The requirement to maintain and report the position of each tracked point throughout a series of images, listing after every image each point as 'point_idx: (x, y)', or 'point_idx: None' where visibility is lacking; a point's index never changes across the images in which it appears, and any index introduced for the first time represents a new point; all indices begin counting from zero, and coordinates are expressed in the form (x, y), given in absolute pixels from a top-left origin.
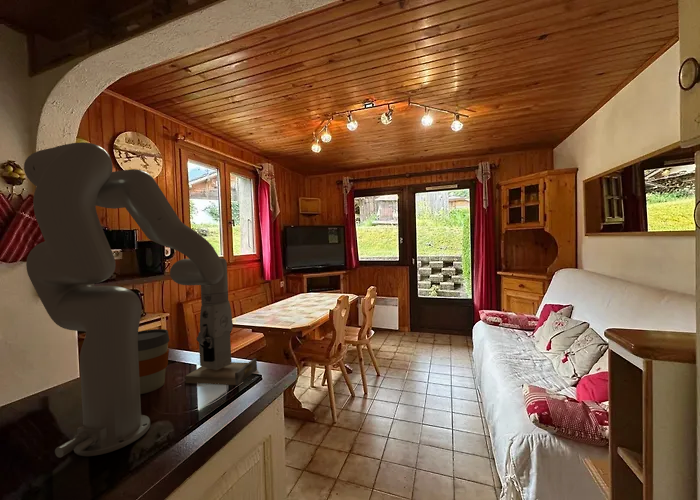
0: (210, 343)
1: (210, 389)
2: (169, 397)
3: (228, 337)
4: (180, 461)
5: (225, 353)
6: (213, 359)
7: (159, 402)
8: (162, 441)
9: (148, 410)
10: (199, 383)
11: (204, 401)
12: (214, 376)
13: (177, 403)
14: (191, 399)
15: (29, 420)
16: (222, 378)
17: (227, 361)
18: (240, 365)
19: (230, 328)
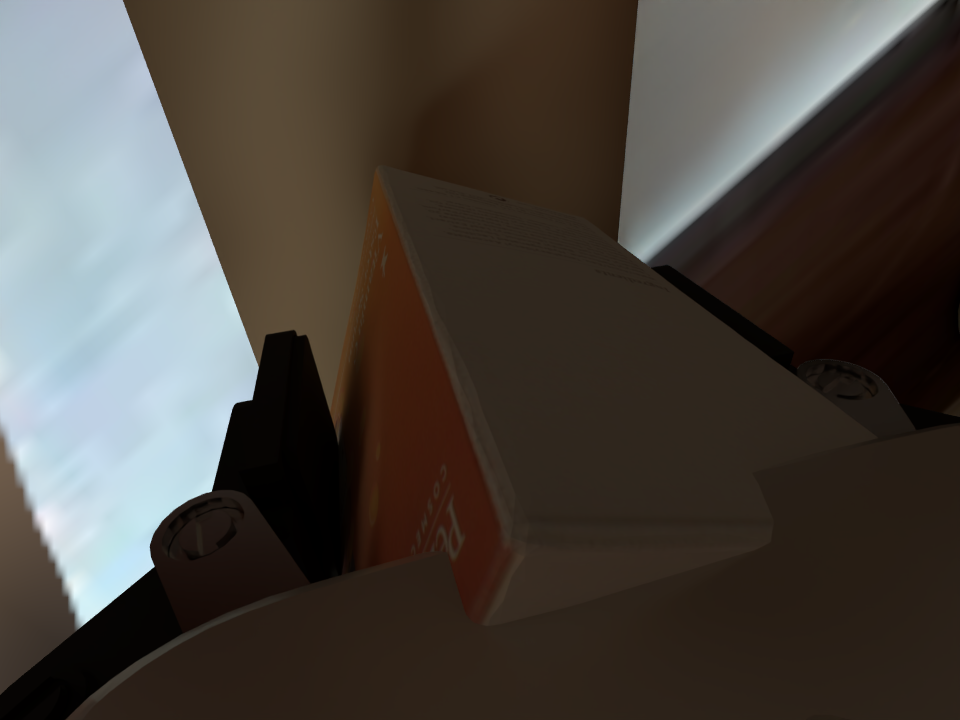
0: (906, 417)
1: (681, 120)
2: (763, 321)
3: (521, 370)
4: None
5: (510, 238)
6: (675, 270)
7: (812, 323)
8: None
9: (885, 301)
10: None
11: (875, 3)
12: (607, 185)
13: (850, 205)
14: (818, 149)
15: None
16: (628, 66)
17: (450, 191)
18: (268, 78)
19: (272, 717)
